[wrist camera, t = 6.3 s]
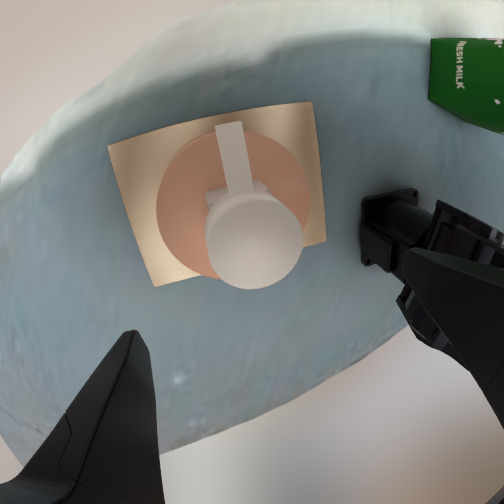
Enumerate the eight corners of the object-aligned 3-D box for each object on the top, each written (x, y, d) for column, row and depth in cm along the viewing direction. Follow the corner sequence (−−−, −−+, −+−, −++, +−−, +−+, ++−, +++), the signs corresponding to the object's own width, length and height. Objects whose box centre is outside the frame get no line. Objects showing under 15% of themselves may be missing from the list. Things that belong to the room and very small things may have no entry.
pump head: (256, 116, 14) (287, 115, 9) (275, 234, 17) (306, 275, 13) (180, 132, 13) (178, 136, 9) (210, 251, 16) (220, 299, 12)
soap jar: (280, 118, 17) (319, 119, 12) (296, 237, 22) (331, 276, 16) (146, 148, 16) (128, 160, 11) (181, 268, 20) (182, 318, 15)
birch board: (308, 101, 18) (311, 101, 17) (323, 238, 23) (326, 241, 22) (109, 145, 16) (107, 145, 15) (155, 283, 21) (154, 287, 21)
